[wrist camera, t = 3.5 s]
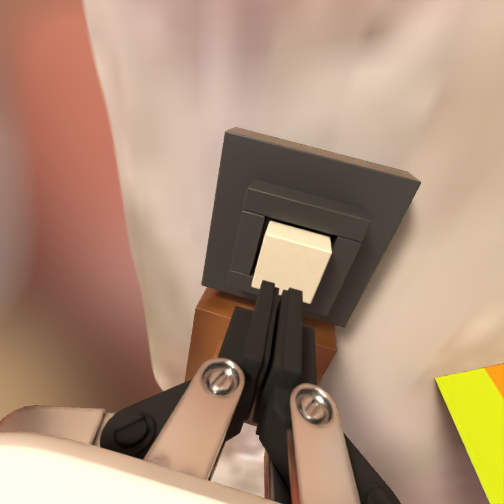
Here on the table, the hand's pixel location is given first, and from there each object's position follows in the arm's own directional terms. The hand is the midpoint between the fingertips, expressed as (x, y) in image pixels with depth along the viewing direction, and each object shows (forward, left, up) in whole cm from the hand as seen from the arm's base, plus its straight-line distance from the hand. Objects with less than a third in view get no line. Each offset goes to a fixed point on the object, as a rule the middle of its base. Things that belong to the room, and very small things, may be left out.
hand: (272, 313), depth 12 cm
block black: (0, 0, -8) cm, 8 cm away
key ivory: (0, 0, -5) cm, 5 cm away
